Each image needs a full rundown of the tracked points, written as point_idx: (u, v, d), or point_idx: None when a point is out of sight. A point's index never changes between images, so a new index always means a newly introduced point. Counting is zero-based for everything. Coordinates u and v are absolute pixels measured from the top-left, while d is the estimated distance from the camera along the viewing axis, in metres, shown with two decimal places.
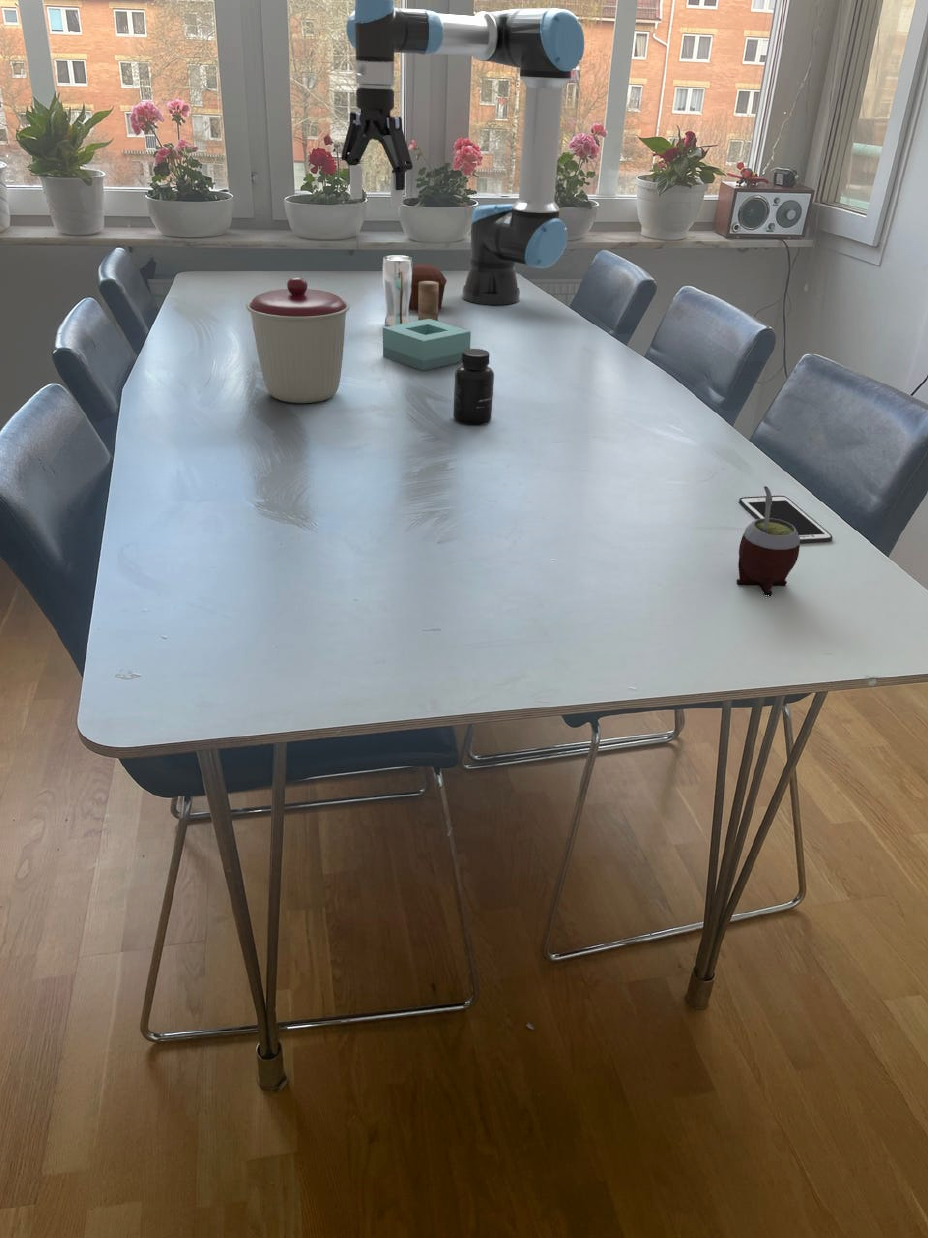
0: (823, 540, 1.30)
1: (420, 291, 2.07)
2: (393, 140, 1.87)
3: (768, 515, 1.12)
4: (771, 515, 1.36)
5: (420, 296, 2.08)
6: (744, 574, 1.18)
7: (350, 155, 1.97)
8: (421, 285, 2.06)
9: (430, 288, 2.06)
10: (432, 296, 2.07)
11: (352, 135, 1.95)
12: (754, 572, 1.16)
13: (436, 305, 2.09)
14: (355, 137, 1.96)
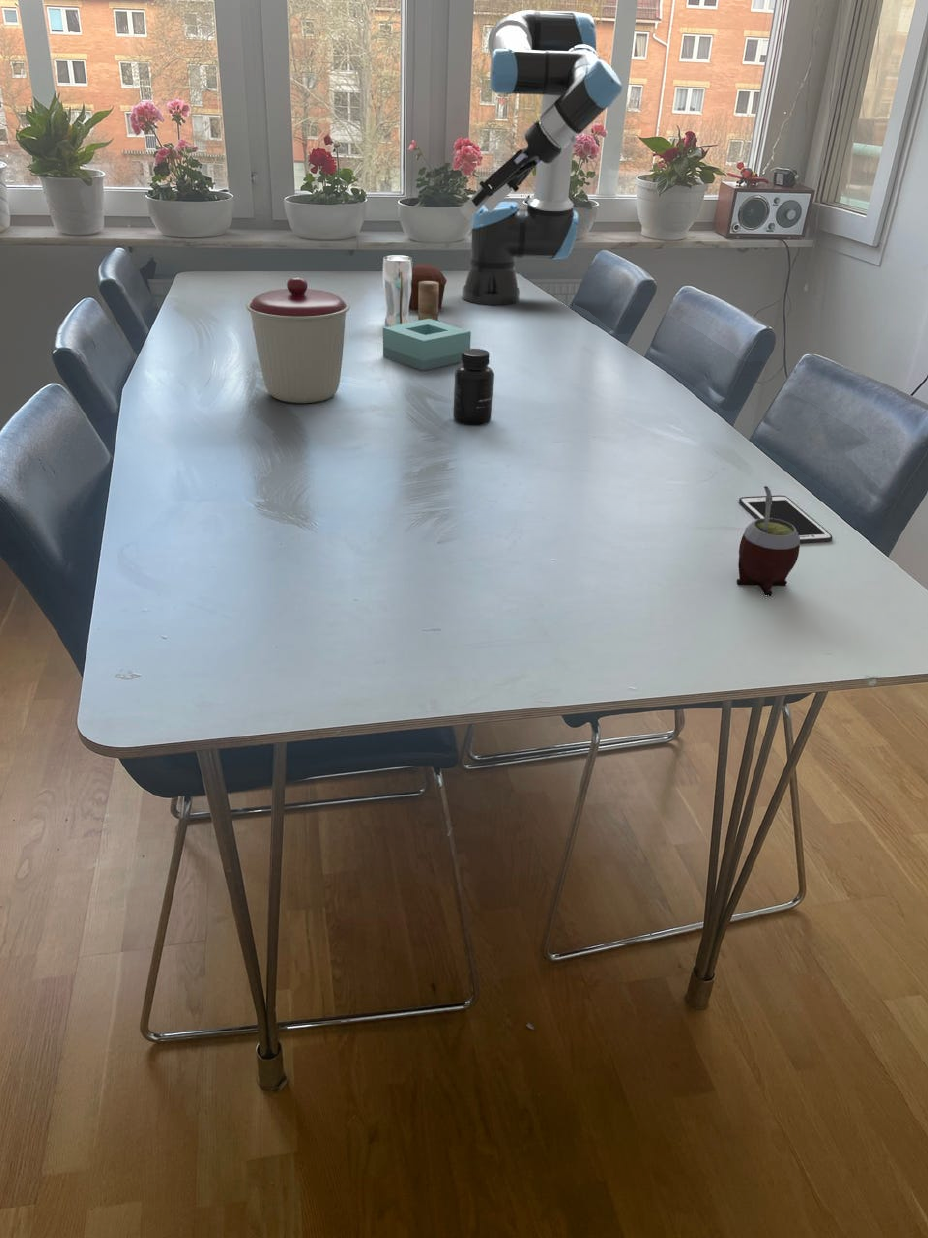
0: (823, 540, 1.30)
1: (420, 291, 2.07)
2: (531, 169, 1.96)
3: (768, 515, 1.12)
4: (771, 515, 1.36)
5: (420, 296, 2.08)
6: (744, 574, 1.18)
7: (497, 190, 1.87)
8: (421, 285, 2.06)
9: (430, 288, 2.06)
10: (432, 296, 2.07)
11: None
12: (754, 572, 1.16)
13: (436, 305, 2.09)
14: None
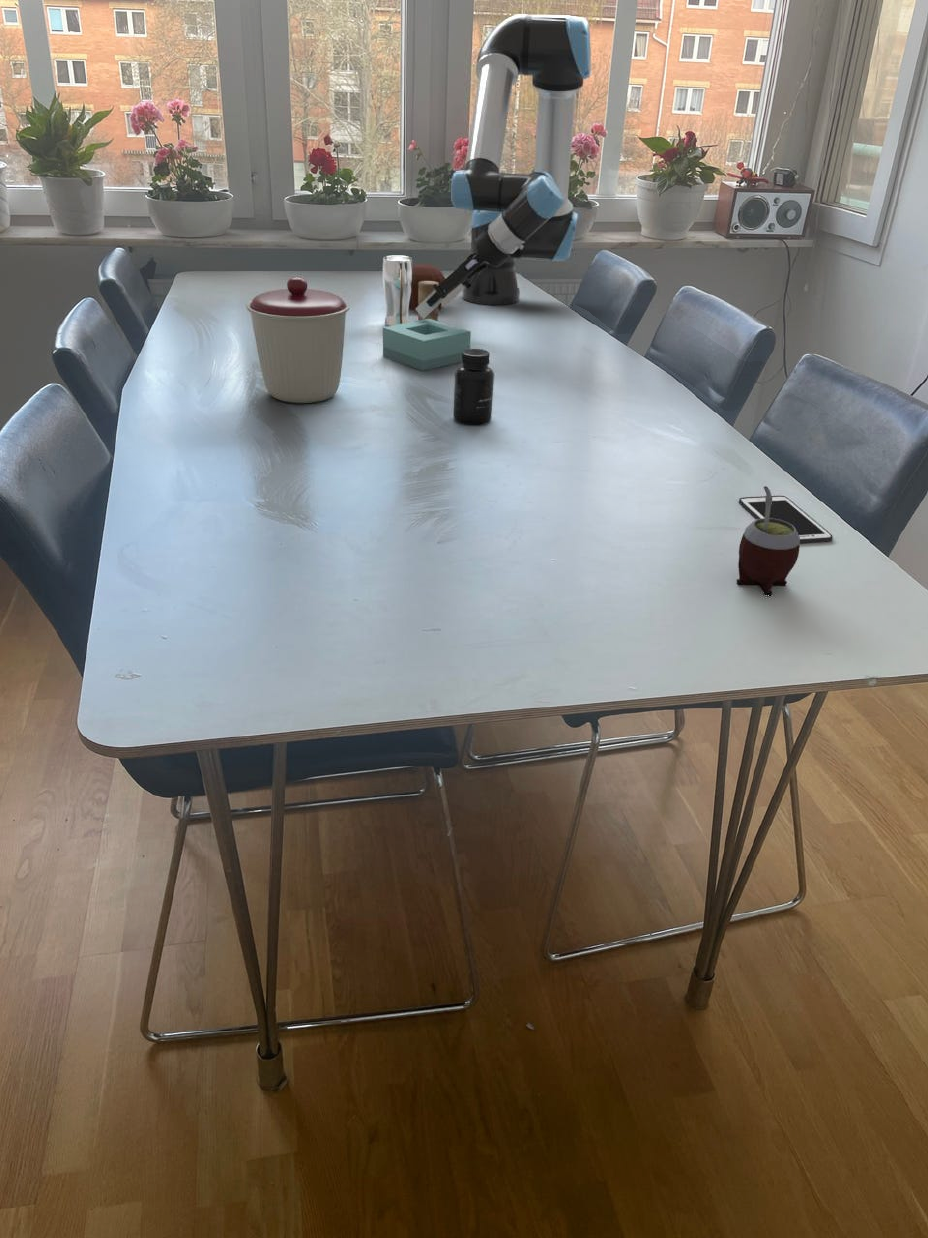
0: (823, 540, 1.30)
1: (420, 291, 2.07)
2: None
3: (768, 515, 1.12)
4: (771, 515, 1.36)
5: (420, 296, 2.08)
6: (744, 574, 1.18)
7: (450, 292, 1.99)
8: (421, 285, 2.06)
9: (430, 288, 2.06)
10: None
11: None
12: (754, 572, 1.16)
13: None
14: None
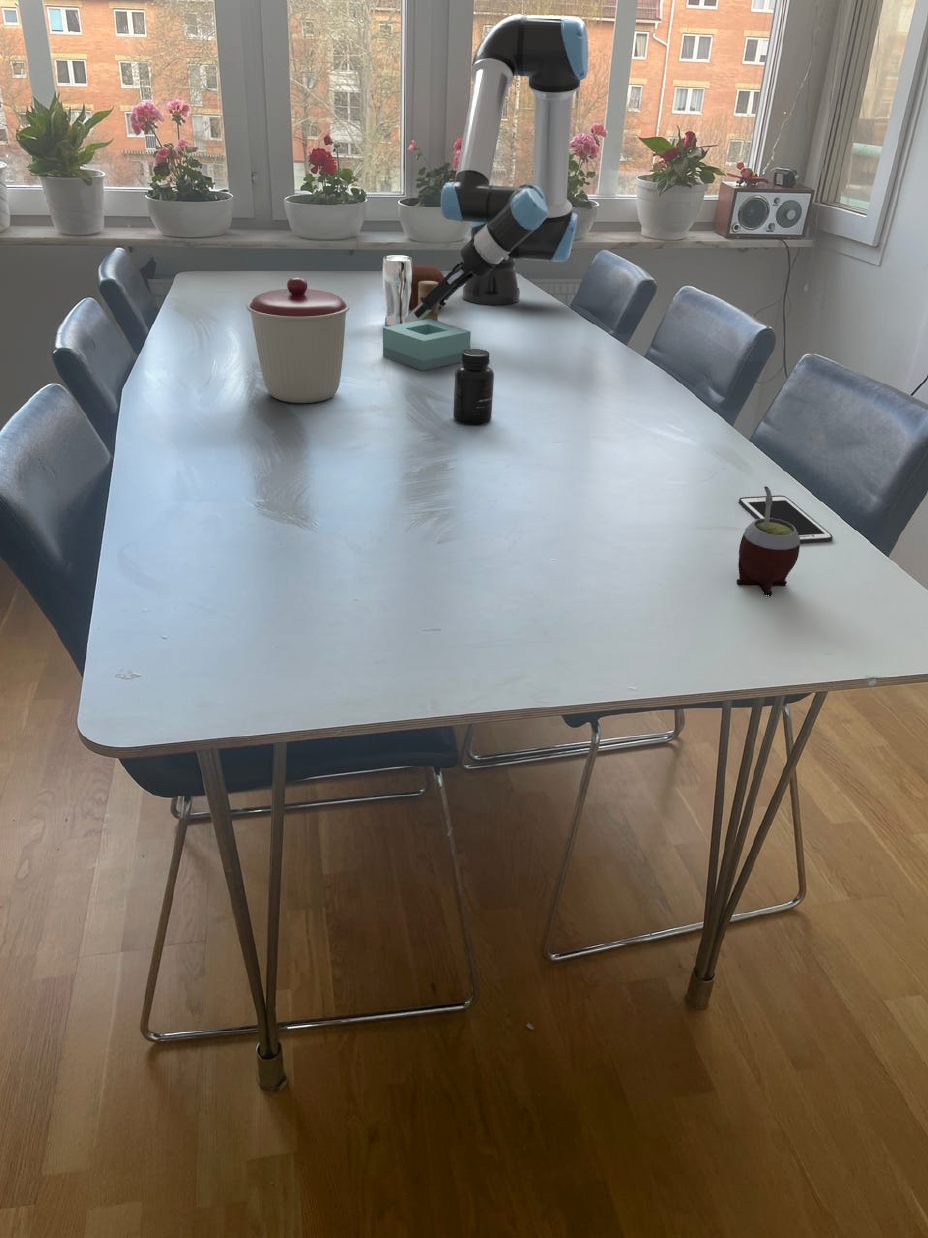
0: (823, 540, 1.30)
1: (420, 291, 2.07)
2: None
3: (768, 515, 1.12)
4: (771, 515, 1.36)
5: (420, 296, 2.08)
6: (744, 574, 1.18)
7: None
8: (421, 285, 2.06)
9: (430, 288, 2.06)
10: None
11: None
12: (754, 572, 1.16)
13: (436, 305, 2.09)
14: None
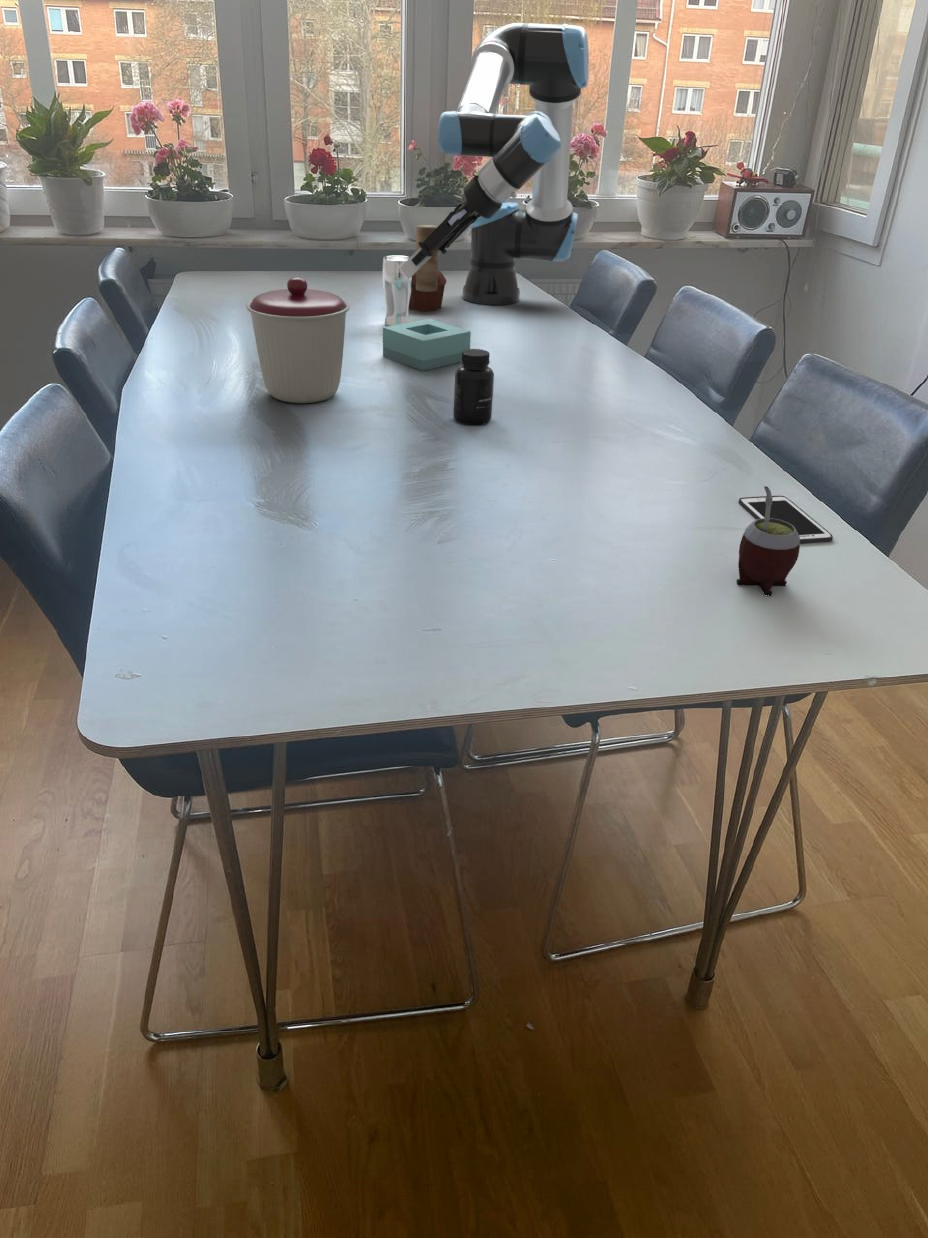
0: (823, 540, 1.30)
1: (418, 236, 1.87)
2: None
3: (768, 515, 1.12)
4: (771, 515, 1.36)
5: (418, 241, 1.88)
6: (744, 574, 1.18)
7: (436, 249, 1.86)
8: (419, 228, 1.86)
9: (430, 232, 1.86)
10: None
11: None
12: (754, 572, 1.16)
13: (436, 251, 1.89)
14: None
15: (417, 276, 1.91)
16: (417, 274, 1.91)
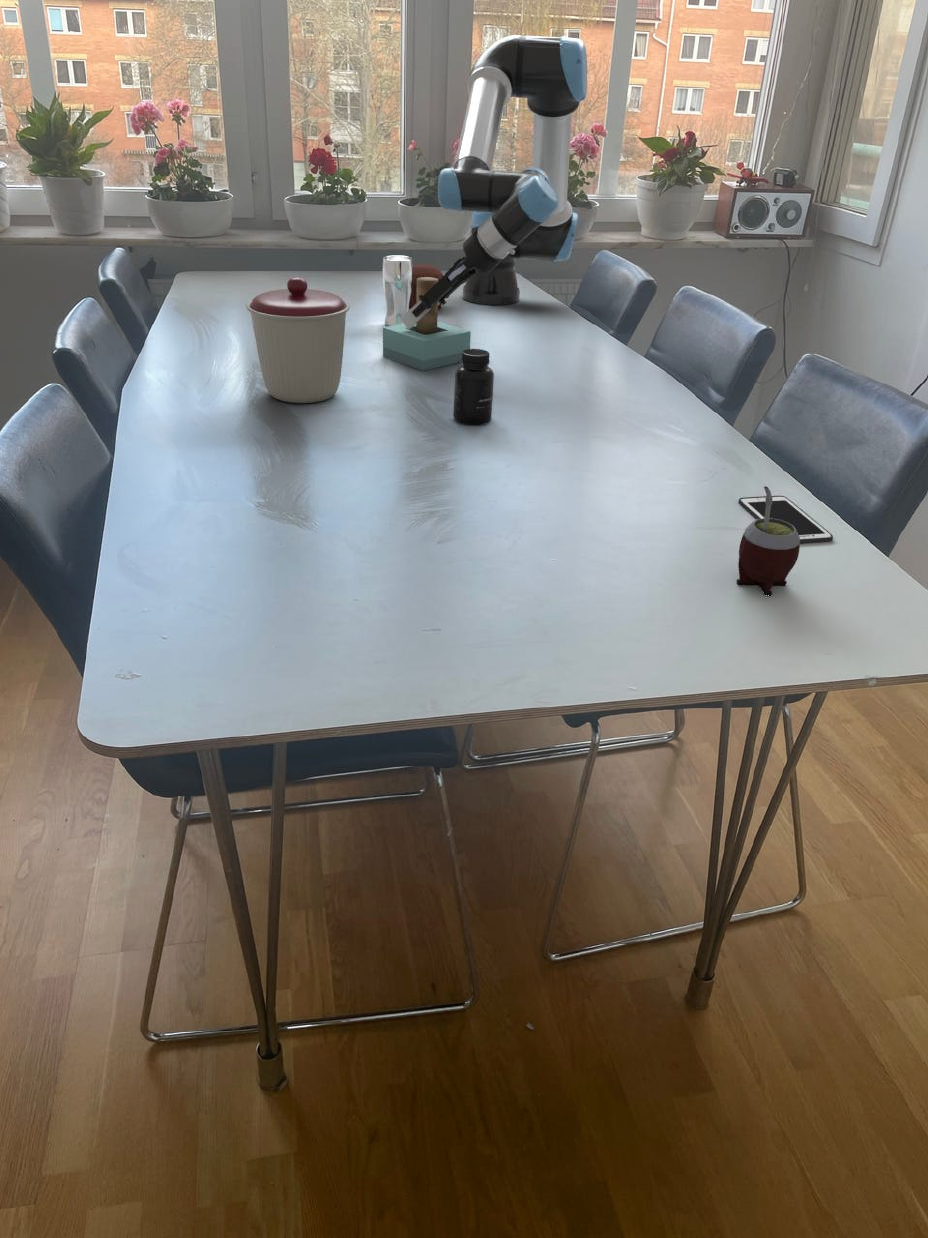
0: (824, 540, 1.30)
1: (419, 288, 1.91)
2: None
3: (768, 515, 1.12)
4: (771, 515, 1.36)
5: (418, 293, 1.92)
6: (744, 574, 1.18)
7: (436, 302, 1.90)
8: (419, 282, 1.90)
9: (430, 285, 1.90)
10: None
11: None
12: (754, 572, 1.16)
13: (436, 303, 1.93)
14: None
15: (417, 327, 1.95)
16: (417, 325, 1.95)
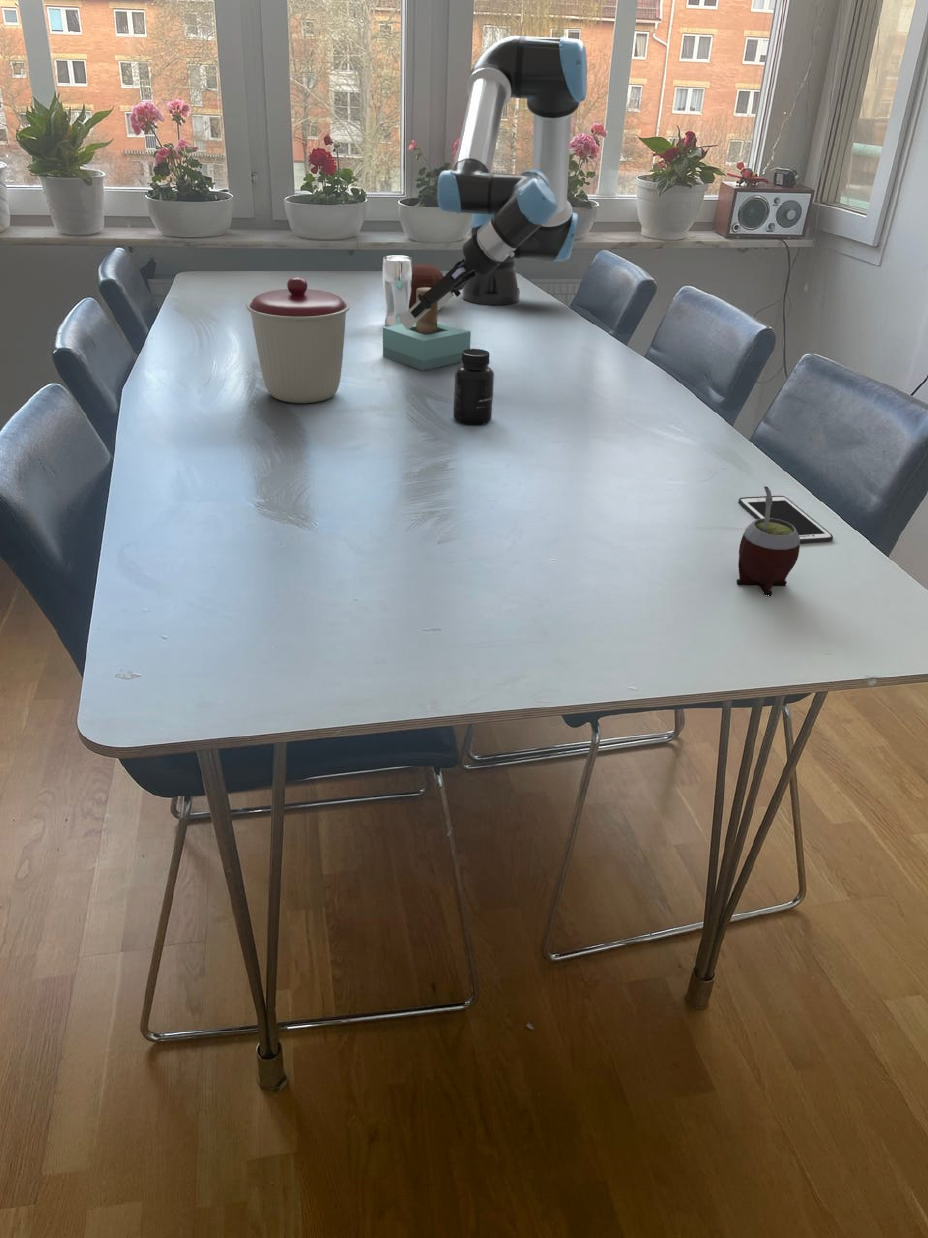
0: (824, 540, 1.30)
1: (418, 299, 1.92)
2: None
3: (768, 515, 1.12)
4: (771, 515, 1.36)
5: None
6: (744, 574, 1.18)
7: (435, 302, 1.86)
8: (419, 292, 1.91)
9: None
10: None
11: None
12: (754, 572, 1.16)
13: (435, 314, 1.94)
14: None
15: None
16: None
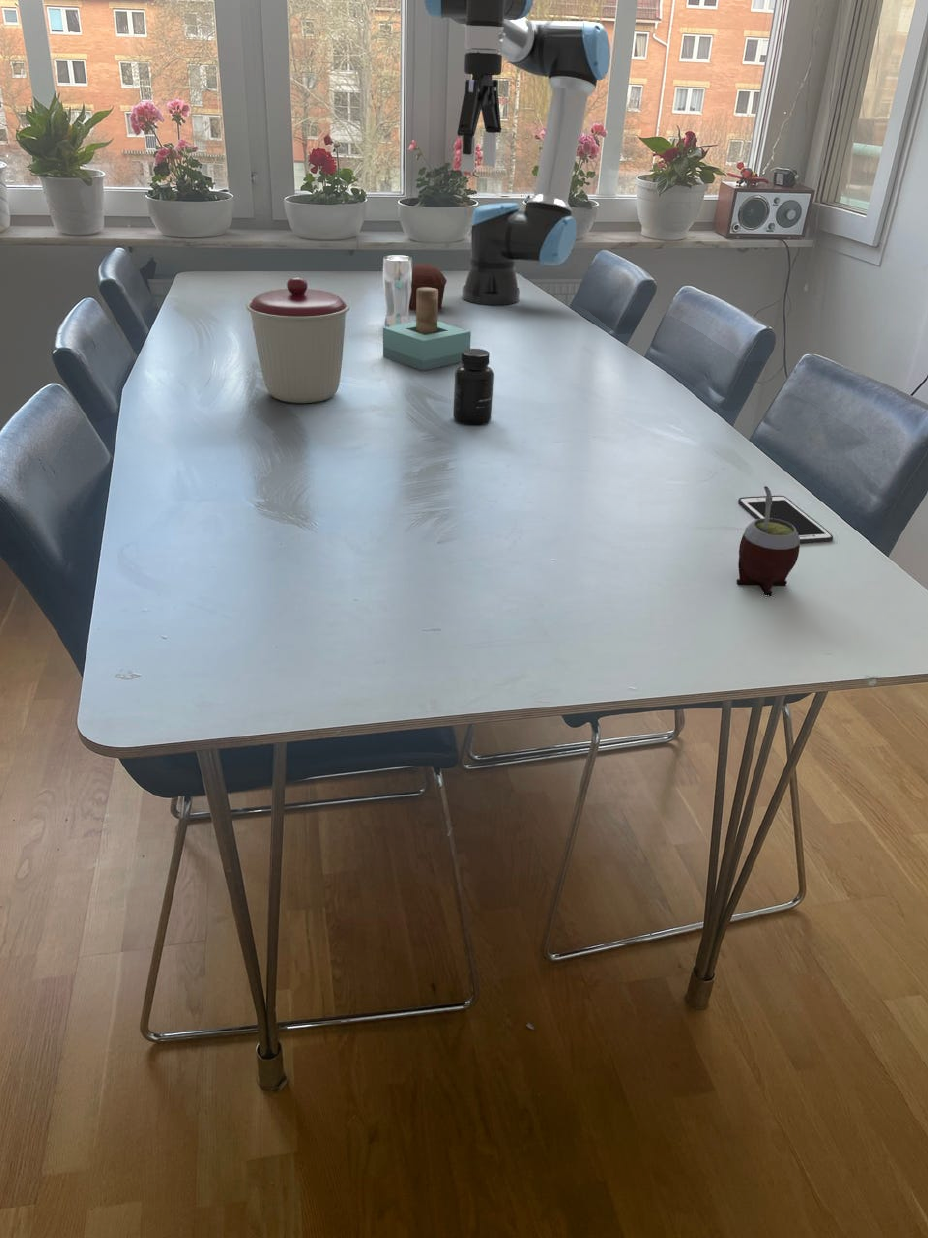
0: (824, 540, 1.30)
1: (418, 299, 1.92)
2: (497, 102, 1.99)
3: (768, 515, 1.12)
4: (771, 515, 1.36)
5: (418, 304, 1.93)
6: (744, 574, 1.18)
7: (475, 126, 1.89)
8: (419, 292, 1.91)
9: (429, 296, 1.91)
10: (431, 304, 1.92)
11: None
12: (754, 572, 1.16)
13: (435, 314, 1.94)
14: None
15: None
16: None
